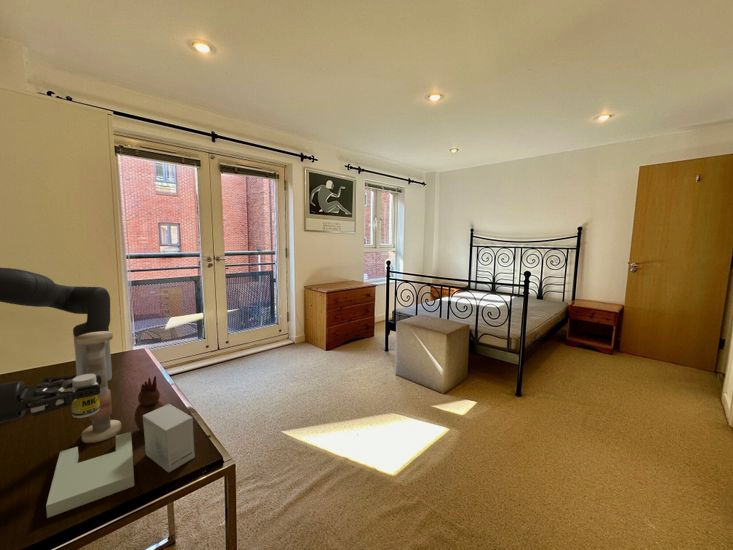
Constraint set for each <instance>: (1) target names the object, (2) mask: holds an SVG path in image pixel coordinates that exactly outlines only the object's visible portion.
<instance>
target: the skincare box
mask: <svg viewBox="0 0 733 550" xmlns="http://www.w3.org/2000/svg"><path fill="white" fill-rule="evenodd" d="M143 424H144V432H143V433H144V448H145V455H146V456H147V457H148V458H150V459H151V460H152V461H154V463H156V464H157V465H158V466H159V467H161V468H162V469H163V470H165V471H166V473H170V472H172V471H174V470H175V469H177V468H179V467H181V466H182V465H184V464H186V463H188V462H189V461H191V460H192V459H194V458H195V457H196V455H195V441H194V419H193V416H191V415H189V414H187V413H186V412H184V411H182V410H181V409H179V408H178V407H175V406H174V405H172V404H170V403H167V404H166V405H164V406H163V407H161V408H158V409H156V410H154V411H151V412H149V413H147V414H145V415H143Z"/></svg>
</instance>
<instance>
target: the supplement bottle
mask: <svg viewBox="0 0 733 550" xmlns="http://www.w3.org/2000/svg"><path fill="white" fill-rule="evenodd" d="M96 384H98V383H97V382H96V375H95V374H84V375H80V376H77V377H75V378H73V380H72V386H73V387H72V388H71V389H76V390H77V388H80V387H85V386H91V385H96ZM70 406H71V407H70V408H71V416H72V417H73V418H74V419H75V418H76V419H82V418H87V417H88V418H89V416H91V415H93V414H95V413H96V412H98V411H99V409H100V403H99V394H98V395H95V396H90V397H85V398H80V399H77V400H76V401H74V402H72V405H70Z"/></svg>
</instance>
